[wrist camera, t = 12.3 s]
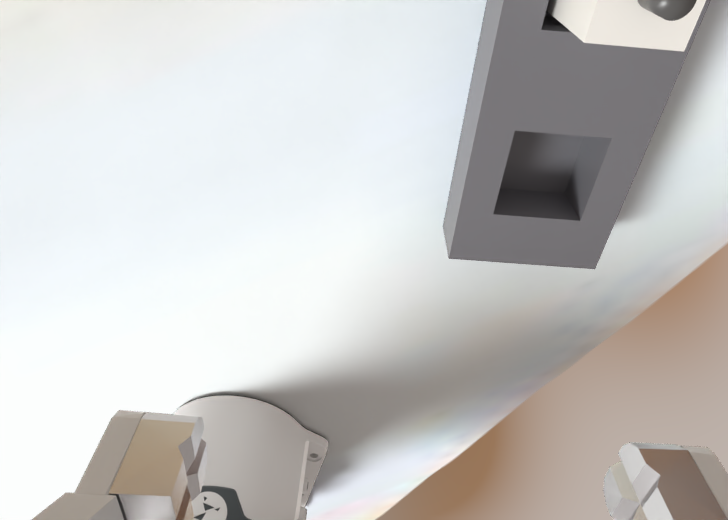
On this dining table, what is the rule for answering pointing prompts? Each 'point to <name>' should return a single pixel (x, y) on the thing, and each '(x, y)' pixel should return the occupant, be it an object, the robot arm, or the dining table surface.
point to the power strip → (550, 138)
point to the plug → (630, 21)
